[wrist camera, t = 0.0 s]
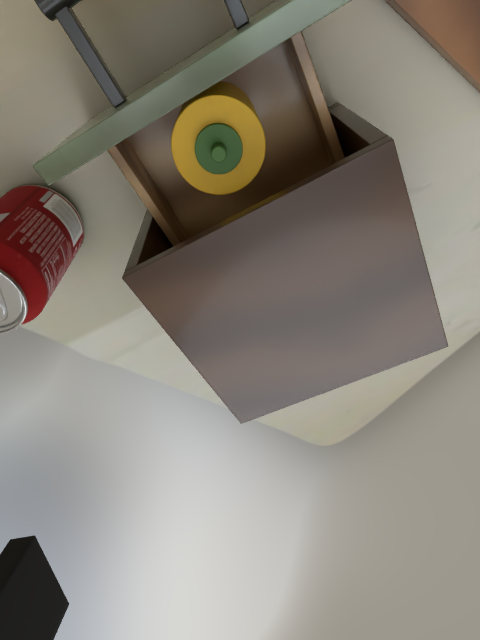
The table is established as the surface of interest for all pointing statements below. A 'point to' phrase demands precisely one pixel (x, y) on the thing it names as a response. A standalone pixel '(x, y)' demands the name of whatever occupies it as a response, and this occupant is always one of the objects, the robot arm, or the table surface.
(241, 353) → the cabinet
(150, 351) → the table surface
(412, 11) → the cutting board
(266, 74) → the drawer
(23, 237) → the soda can
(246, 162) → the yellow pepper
